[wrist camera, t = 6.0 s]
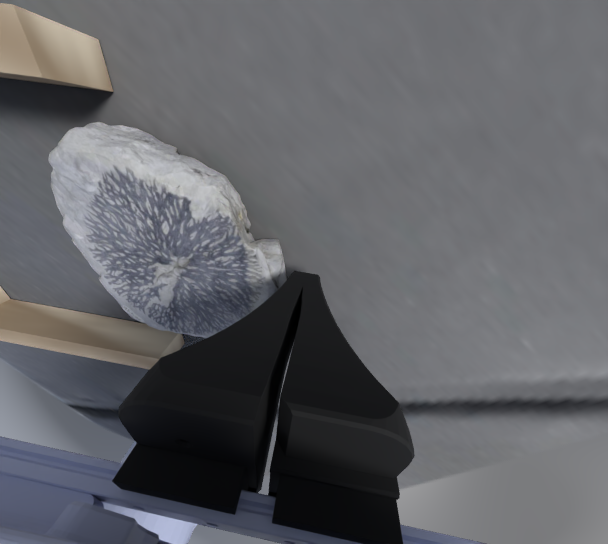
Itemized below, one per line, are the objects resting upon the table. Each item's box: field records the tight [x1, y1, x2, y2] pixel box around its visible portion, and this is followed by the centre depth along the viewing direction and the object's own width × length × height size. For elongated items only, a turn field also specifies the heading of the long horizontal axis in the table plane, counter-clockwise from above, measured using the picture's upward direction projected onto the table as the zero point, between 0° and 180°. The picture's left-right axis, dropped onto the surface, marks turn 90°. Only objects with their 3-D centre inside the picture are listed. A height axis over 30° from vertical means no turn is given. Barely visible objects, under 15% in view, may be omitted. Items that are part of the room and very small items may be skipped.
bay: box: [0, 3, 185, 370], centre depth 12 cm, size 17×16×2 cm
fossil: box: [48, 122, 287, 338], centre depth 11 cm, size 11×4×10 cm
